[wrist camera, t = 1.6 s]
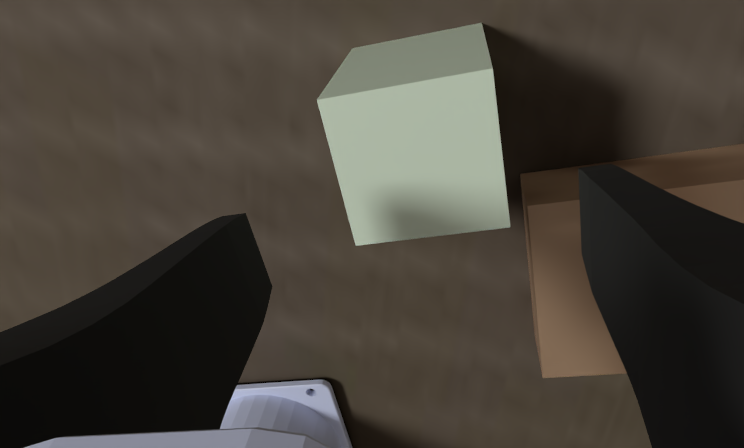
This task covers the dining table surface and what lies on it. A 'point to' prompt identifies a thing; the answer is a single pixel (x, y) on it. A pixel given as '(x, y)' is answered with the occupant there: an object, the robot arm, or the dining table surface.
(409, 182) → the sage block
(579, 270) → the walnut slab
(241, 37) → the dining table surface
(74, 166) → the dining table surface
